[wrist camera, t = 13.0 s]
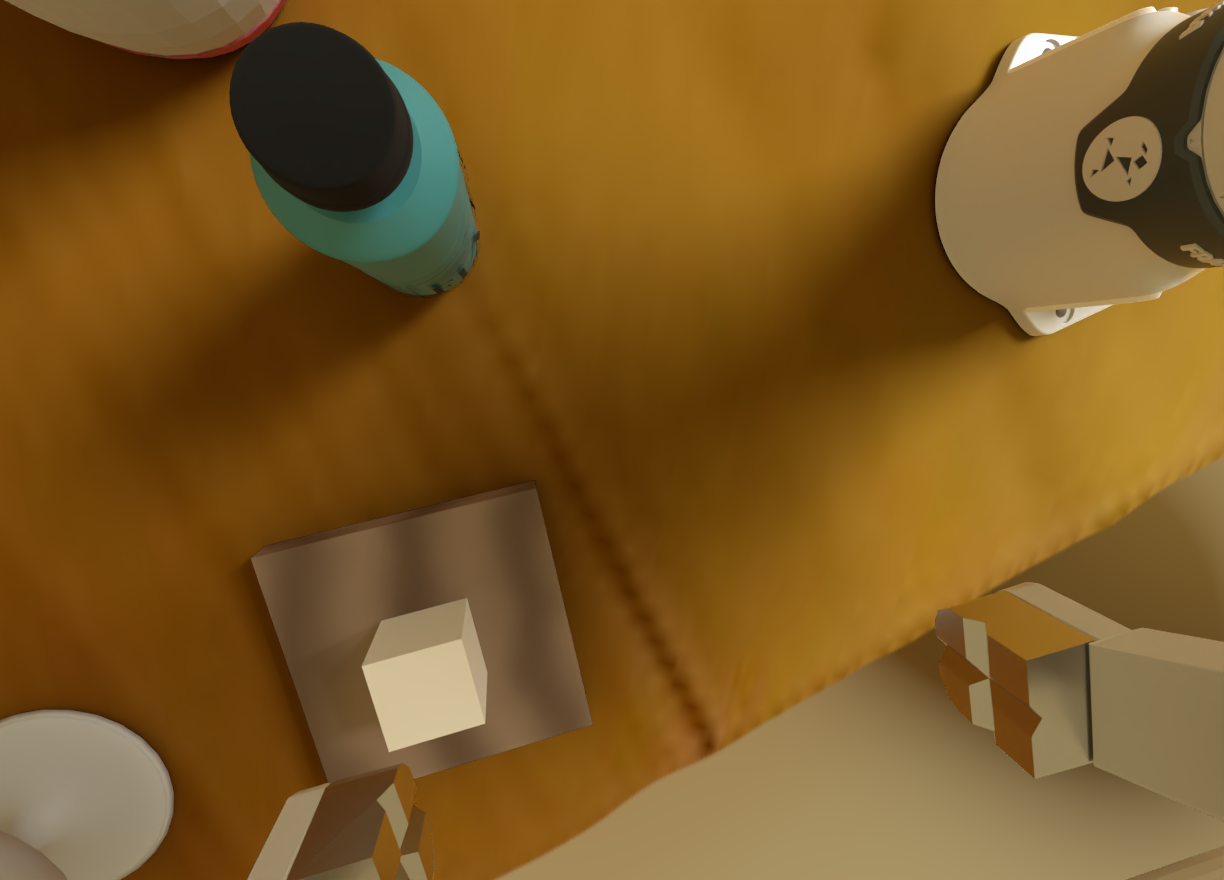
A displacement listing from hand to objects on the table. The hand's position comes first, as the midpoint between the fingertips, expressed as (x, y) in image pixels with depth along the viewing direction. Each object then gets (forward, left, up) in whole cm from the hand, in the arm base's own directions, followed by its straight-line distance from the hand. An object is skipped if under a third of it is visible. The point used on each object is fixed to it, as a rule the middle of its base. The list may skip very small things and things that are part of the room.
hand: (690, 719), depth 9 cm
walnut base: (+9, +11, -29) cm, 32 cm away
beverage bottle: (+4, -12, -29) cm, 32 cm away
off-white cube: (+9, +11, -27) cm, 30 cm away
